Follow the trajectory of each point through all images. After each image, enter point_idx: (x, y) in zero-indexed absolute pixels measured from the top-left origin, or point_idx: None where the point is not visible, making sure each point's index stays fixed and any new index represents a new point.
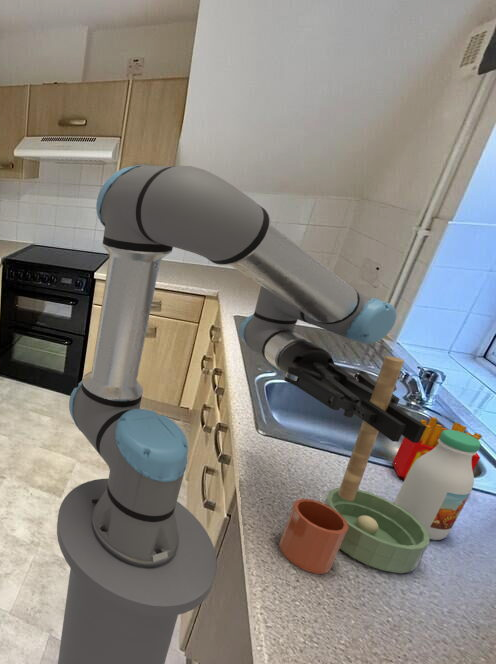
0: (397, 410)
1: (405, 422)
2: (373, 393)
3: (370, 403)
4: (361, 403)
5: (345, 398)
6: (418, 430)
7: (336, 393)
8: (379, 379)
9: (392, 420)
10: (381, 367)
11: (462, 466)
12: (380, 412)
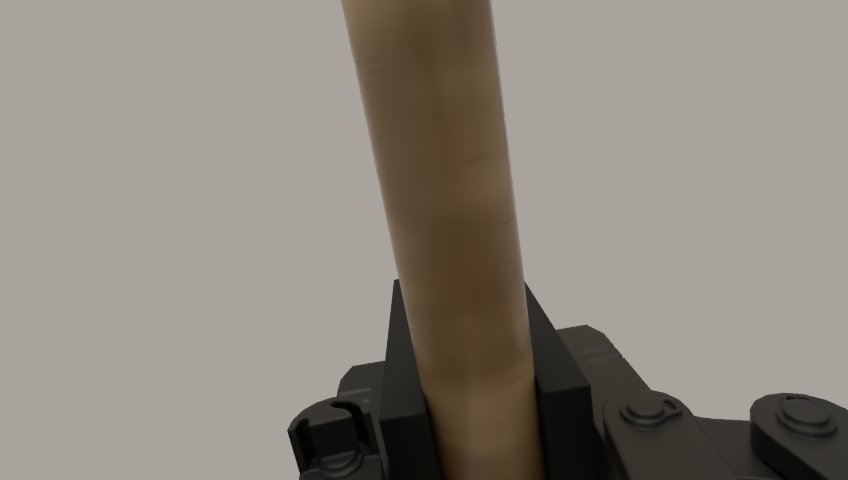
0: None
1: None
2: (524, 302)
3: (551, 352)
4: (589, 415)
5: (723, 450)
6: None
7: (838, 433)
8: (506, 154)
9: None
10: (487, 29)
11: None
12: (538, 306)
